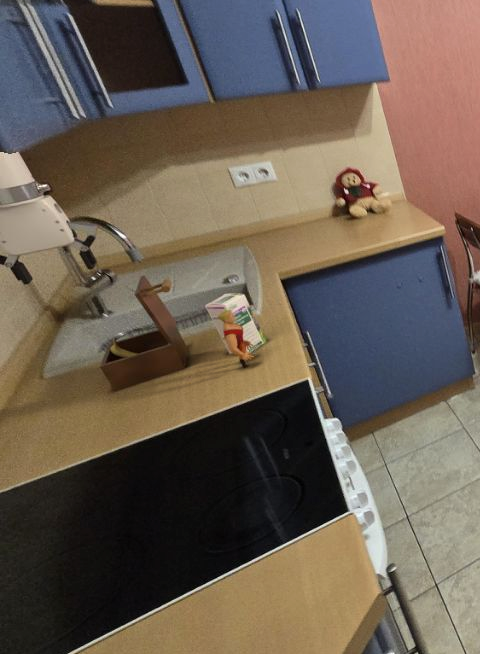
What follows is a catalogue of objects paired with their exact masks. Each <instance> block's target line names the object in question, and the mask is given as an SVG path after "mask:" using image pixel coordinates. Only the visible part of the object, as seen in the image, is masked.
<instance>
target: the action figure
mask: <svg viewBox="0 0 480 654" xmlns="http://www.w3.org/2000/svg"><path fill="white" fill-rule="evenodd" d="M218 317H219V319H221V320H222V322H224V324H223V332H224V338H225V339H226V343H227V345H228V349H229V350H230V351H231V352H232V353H233V354H232V355H234V356H237V357H239V358H238V360H239V363H240V364H241V366H242V368H243V369H246V368H247V369H248V368H249V367H250V365H247V362H250V360H251V361H252V358H255V355H251V354H252V352H251V353H250V352H247V353H246V346H247V349H249V348H248V346H249V347H250V348H251V346H254V345H253V344H251V342H249V341H247V340H243V327H241V326H240V325H238V324H235V323H234V322H236V319H235V318H236V317H235V316H234V315H233V314H232V312H231V311H230V310H226V311H225V312H223V313H221V314H220V315H219V316H218ZM250 345H251V346H250ZM237 348H238V349H239V350H238V349H237Z"/></svg>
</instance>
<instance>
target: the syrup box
mask: <svg viewBox="0 0 480 654" xmlns="http://www.w3.org/2000/svg"><path fill="white" fill-rule="evenodd" d="M204 306H205V309H206V311H207V313H208V314H209V316H210V319H211V320H212V322H213V325H214V326H215V328H216V330H217V332H218V334H219V336H220V339H221V340H222V342H223V344H224V346H225V348H226V350H227V352H228V354H229V355H234V354H233V353H232V352H231V351H230V350H229V349H228V345H227V343H226V339H225V338H224V332H223V324H224V322H222V320H221V319H219V317H218V316H219V315H220V314H221V313H223V312H225V311H226V310H230V311H231V312H232V314H233V315H234V316H235V317H236V318H235V319H236V322H234V323H235V324H238V325H240V326H241V327H243V340H247V341H249V342H251V344H253V345H254V346H251V345H250V346H251V348H250V347H249V346H248V348H249V349H247V346H246V353H247V352H250V353H251V354H252V353H253V351H255V350H257V349H258V348H259V347H261V346H263V344H266V343H267V340H266V337H265V336H264V333H263V331H262V328H261V327H260V324H259V323H258V320H257V319H256V316H255V314H254V312H253V310H252V308H251V306H250V303H249V301H248V299H247V297H246V295H245V294H244V293H240V292H239V293H237V292H233V293H232V292H231V293H224V294H223V295H221V296H220V297H217V298H215V299H214V300H213V301H211V302H209V303H206V304H205V305H204ZM237 349H238V348H237ZM238 350H239V349H238Z"/></svg>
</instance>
